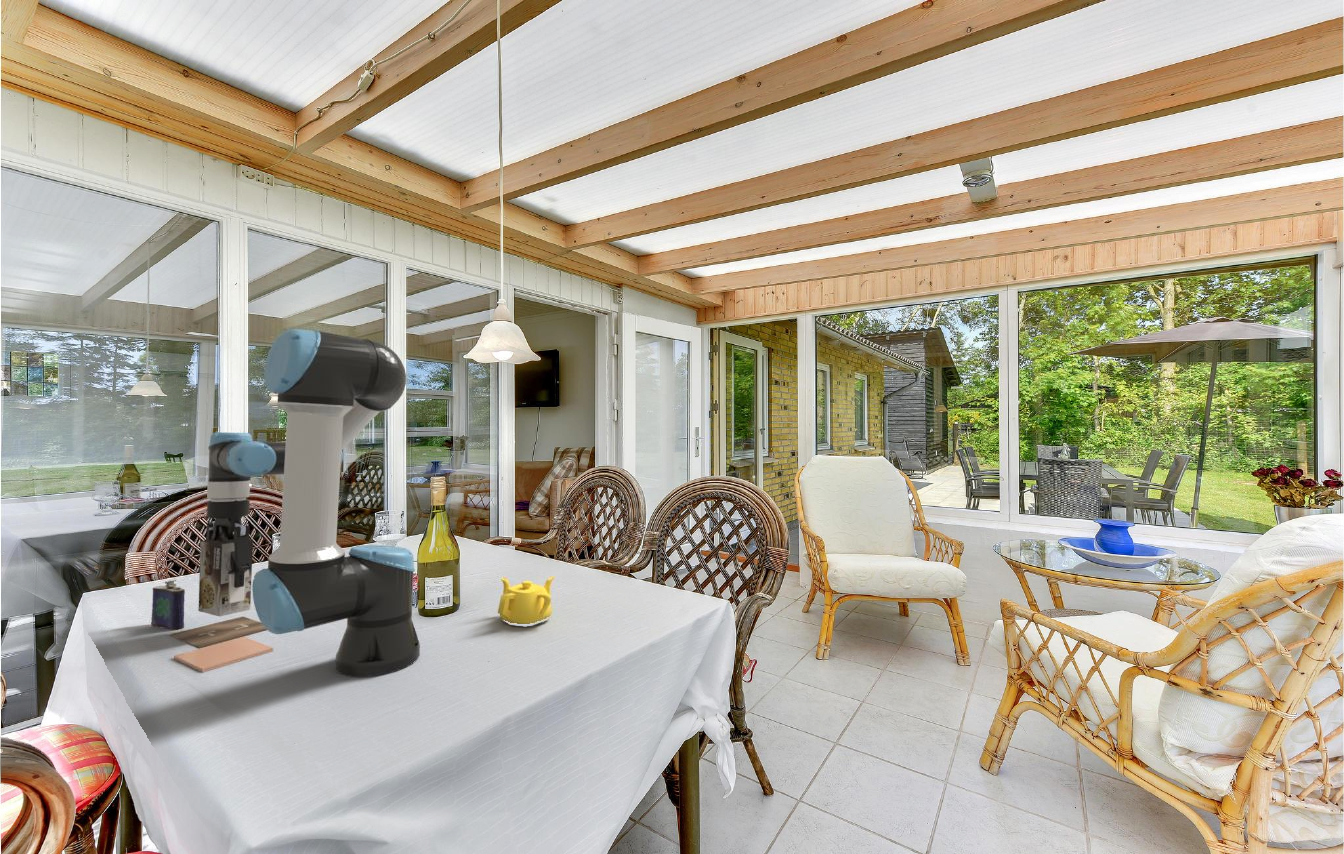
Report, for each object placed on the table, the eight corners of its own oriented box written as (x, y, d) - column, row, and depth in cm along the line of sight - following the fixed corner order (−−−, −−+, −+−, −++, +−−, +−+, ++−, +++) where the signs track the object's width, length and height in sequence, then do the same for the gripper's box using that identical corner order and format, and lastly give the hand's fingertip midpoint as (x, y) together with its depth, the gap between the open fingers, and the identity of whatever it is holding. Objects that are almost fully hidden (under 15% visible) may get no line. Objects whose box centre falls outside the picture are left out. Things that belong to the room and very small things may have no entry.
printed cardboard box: (251, 609, 123) (254, 538, 124) (218, 617, 117) (221, 543, 118) (229, 603, 127) (232, 535, 127) (196, 611, 121) (199, 539, 122)
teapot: (553, 611, 143) (554, 574, 143) (552, 629, 130) (553, 588, 130) (499, 613, 140) (501, 575, 140) (492, 631, 127) (494, 589, 127)
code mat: (274, 627, 125) (274, 626, 125) (199, 648, 113) (199, 646, 113) (243, 617, 132) (243, 616, 132) (169, 635, 119) (169, 634, 119)
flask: (148, 625, 125) (150, 579, 125) (163, 621, 127) (165, 576, 128) (173, 631, 122) (176, 584, 122) (188, 627, 124) (191, 580, 125)
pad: (273, 650, 113) (273, 647, 113) (202, 672, 102) (202, 668, 102) (243, 639, 118) (243, 636, 118) (173, 658, 107) (173, 655, 108)
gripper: (273, 501, 121) (269, 601, 121) (224, 495, 131) (221, 587, 131) (233, 504, 114) (229, 610, 114) (185, 497, 125) (181, 595, 124)
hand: (225, 598), depth 122 cm, fingers closed on printed cardboard box, 9 cm apart
